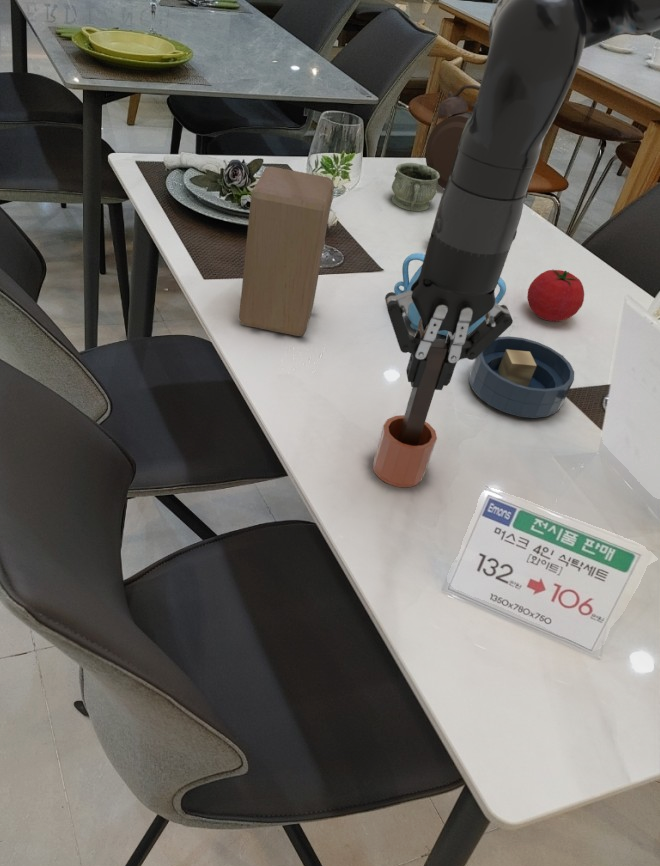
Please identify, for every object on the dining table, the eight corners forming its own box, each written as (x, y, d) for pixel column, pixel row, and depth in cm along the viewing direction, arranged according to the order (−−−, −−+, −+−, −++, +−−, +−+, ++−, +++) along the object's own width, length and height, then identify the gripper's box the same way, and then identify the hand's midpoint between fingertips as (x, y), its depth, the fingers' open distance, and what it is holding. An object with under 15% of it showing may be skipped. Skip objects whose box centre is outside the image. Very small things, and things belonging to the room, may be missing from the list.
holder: (419, 455, 95) (432, 417, 91) (426, 490, 91) (440, 451, 87) (370, 451, 95) (381, 412, 91) (375, 485, 90) (386, 446, 86)
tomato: (572, 335, 122) (593, 289, 117) (518, 320, 124) (536, 275, 118) (574, 311, 129) (594, 266, 123) (523, 297, 130) (540, 252, 124)
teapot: (480, 368, 112) (507, 295, 104) (372, 335, 115) (390, 261, 107) (501, 309, 126) (527, 240, 117) (405, 281, 129) (423, 212, 120)
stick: (408, 456, 92) (444, 339, 82) (411, 467, 91) (448, 348, 80) (392, 455, 92) (426, 337, 82) (394, 465, 91) (429, 346, 80)
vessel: (389, 188, 157) (396, 156, 153) (431, 195, 157) (439, 164, 153) (388, 211, 149) (395, 178, 144) (433, 219, 149) (442, 186, 144)
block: (521, 372, 111) (530, 351, 109) (527, 387, 109) (536, 365, 106) (497, 370, 111) (505, 349, 108) (503, 384, 108) (512, 363, 106)
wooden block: (313, 307, 119) (336, 176, 105) (303, 340, 111) (327, 204, 98) (250, 294, 119) (264, 162, 105) (236, 326, 112) (250, 189, 98)
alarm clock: (490, 199, 160) (523, 95, 146) (473, 208, 155) (506, 101, 141) (431, 176, 165) (458, 73, 152) (413, 183, 161) (439, 78, 147)
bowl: (547, 371, 114) (559, 341, 110) (571, 425, 104) (586, 395, 101) (460, 361, 113) (471, 331, 109) (477, 416, 103) (489, 385, 100)
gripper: (533, 224, 75) (479, 372, 87) (396, 207, 74) (360, 359, 86) (553, 259, 70) (492, 411, 82) (405, 241, 69) (366, 398, 81)
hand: (425, 384), depth 84 cm, fingers closed on stick, 2 cm apart
